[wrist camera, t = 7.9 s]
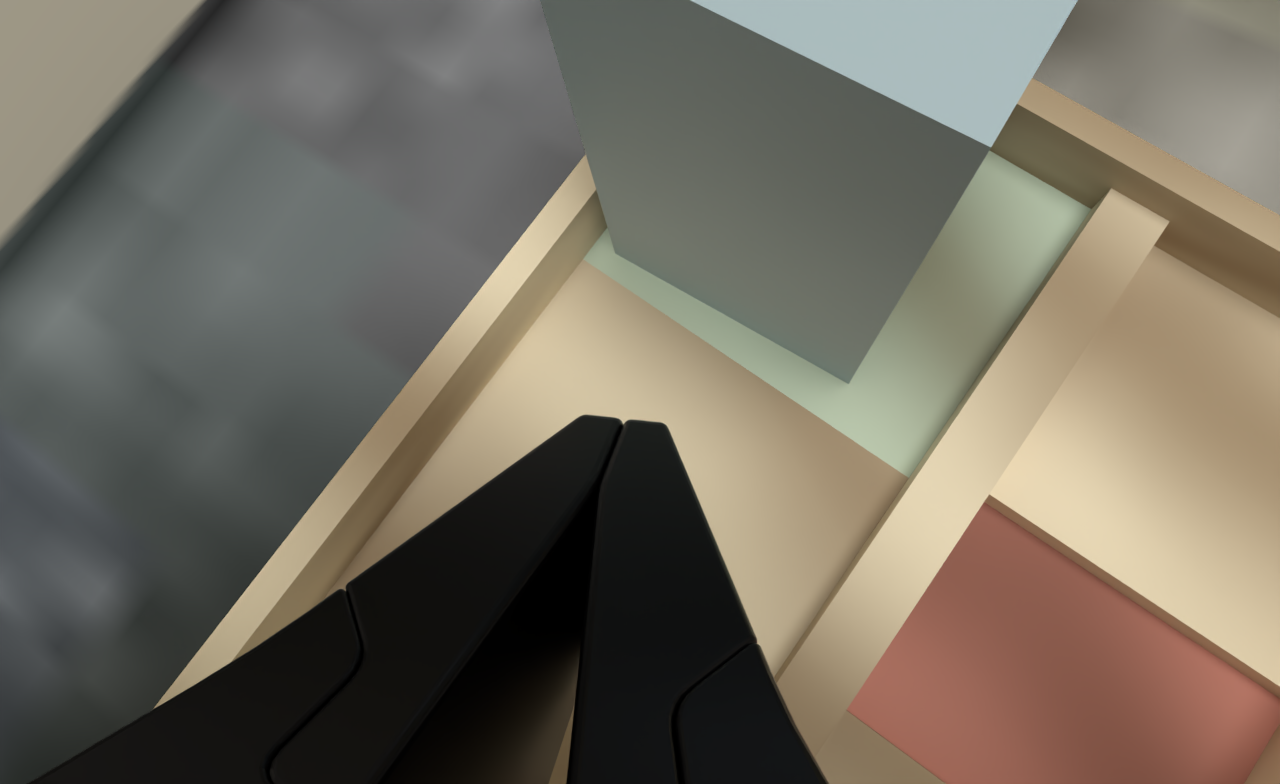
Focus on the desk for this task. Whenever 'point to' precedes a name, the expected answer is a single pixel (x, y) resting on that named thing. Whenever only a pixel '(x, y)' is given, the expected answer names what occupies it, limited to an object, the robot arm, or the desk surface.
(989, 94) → the block
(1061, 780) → the wooden divided tray
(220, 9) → the desk surface
